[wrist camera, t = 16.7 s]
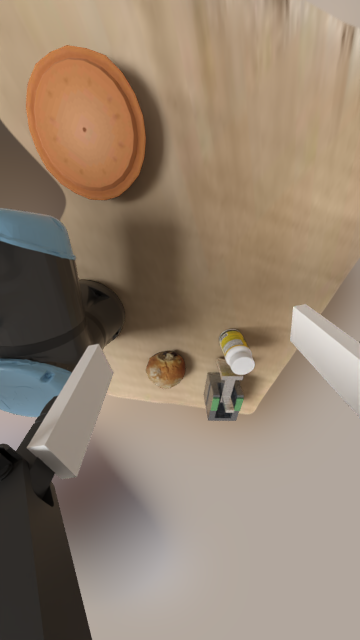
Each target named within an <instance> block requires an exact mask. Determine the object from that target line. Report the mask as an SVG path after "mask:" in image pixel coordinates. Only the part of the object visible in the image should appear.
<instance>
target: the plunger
mask: <svg viewBox="0 0 360 640" xmlns="http://www.w3.org/2000/svg"><path fill="white" fill-rule="evenodd" d="M216 363H217V366H218V369H219V373H220V376H221V385H220V389H219V393H220V397H219V398H220V399H219V400H220V402H223V405H224V409H225V413H234V407H233V404H232V400H231V394H232V390H233V387H234V383H235V380H243V377H244V376H243V375H238V374H235V373H234V372H233V371H232V370H231V367H230V365H228V363H227V362H226V360H225V359H217V362H216Z"/></svg>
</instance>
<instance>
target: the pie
mask: <svg viewBox="0 0 360 640" xmlns="http://www.w3.org/2000/svg"><path fill="white" fill-rule="evenodd" d="M26 110H27V117H28V124H29V130H30V133H31V135H32V138H33V141H34V144H35V146H36V149H37V151H38V153H39V155H40V157H41V159H42V161H43V163H44V164H45V166H46V168H47V170H48V171H49V172H50V173H51V174H52V175H53V176H54V177H55V178H56V179H57V180H58V181H59V182H60V183H61V184H62V185H64V186H65V187H67V188H68V189H70V190H71V191H73V192H74V193H76V194H79V195H81V196H83V197H86V198H88V199H91V200H108V199H111V198H115V197H118V196H120V195H121V194H122V193H123V192H124V191H125V190H127V189H128V188H129V187H130V186H131V184H132V183H133V182H134V181H135V179H136V178H137V177H138V176H139V174H140V171H141V167H142V164H143V161H144V157H145V145H146V134H145V126H144V118H143V114H142V111H141V109H140V106H139V103H138V100H137V98H136V95H135V93H134V91H133V89H132V88H131V86H130V84H129V83H128V81H127V79H126V78H125V76H124V74H123V73H122V72H121V71H120V70H119V69H118V68H117V67H116V66H115V65H114V64H113V63H112V61H111V60H110V59H109V58H108V57H107V56H106V55H103V54H100V53H98V52H95V51H92V50H90V49H87V48H81V47H75V46H68V45H67V46H64V47H62V48H59V49H57V50H54V51H52V52H50V53H48V54H47V55H46V56H45V57H44V58H42V59H41V60H40V61H39V62H38V63H36V64H35V67H34V69H33V72H32V74H31V77H30V79H29V82H28V86H27V98H26Z"/></svg>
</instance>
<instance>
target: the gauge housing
mask: <svg viewBox="0 0 360 640" xmlns="http://www.w3.org/2000/svg"><path fill="white" fill-rule="evenodd" d="M220 385H221V376H220V373H208V374H207V380H206V386H205V391H204V399H205V405H206V411H207V417H208V420H215V421H216V420H217V421H219V420H220V421H221V420H222V421H224V420H225V421H227V420H228V421H234V420H235V421H236V419H237V416H238V413H239V411H240V409H241V406H242V403H243V397H244V394H243V391H242V389H241V386H240V382H239V380H235V383H234V387H233V390H232V394H231V400H232V404H233V407H234V413H225V409H224V405H223V402H220V400H219V399H220V398H219V397H220V393H219V389H220Z"/></svg>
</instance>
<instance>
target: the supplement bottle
mask: <svg viewBox="0 0 360 640" xmlns="http://www.w3.org/2000/svg"><path fill="white" fill-rule="evenodd" d="M219 343H220V346H221V349H222V351H223V354H224V357H225V360H226V362H227V363H228V365H230V367H231V370H232V371H233V372H234V373H235V374H238V375H244V374H247V373H249V372H251V371H252V370H253V369H254V366H255V362H254V360H253V357H252V352H251V350H250V348H249V347H248V345H247V343H246V341H245V340H244V338H243V336H242V334H241V333H240V332H239V331H238V330H236V329H228V330H225V331H224V332H222V333H221V335H220V337H219Z"/></svg>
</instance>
